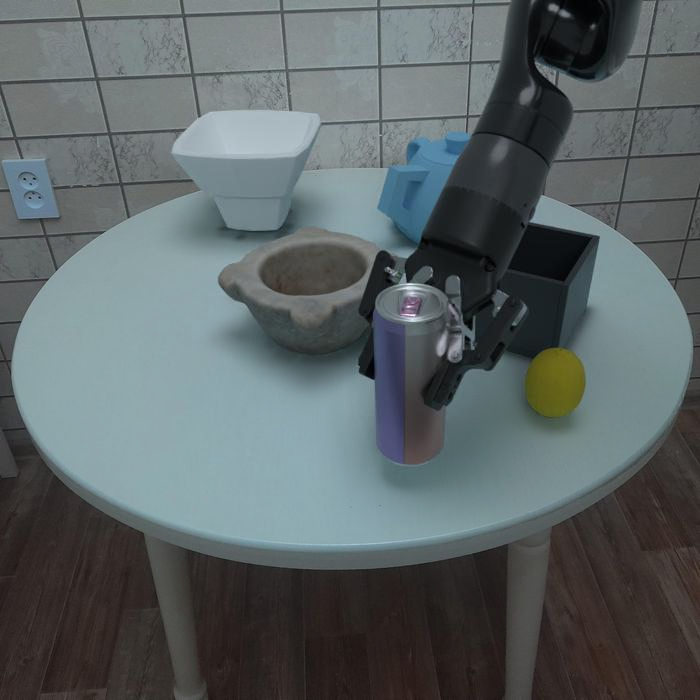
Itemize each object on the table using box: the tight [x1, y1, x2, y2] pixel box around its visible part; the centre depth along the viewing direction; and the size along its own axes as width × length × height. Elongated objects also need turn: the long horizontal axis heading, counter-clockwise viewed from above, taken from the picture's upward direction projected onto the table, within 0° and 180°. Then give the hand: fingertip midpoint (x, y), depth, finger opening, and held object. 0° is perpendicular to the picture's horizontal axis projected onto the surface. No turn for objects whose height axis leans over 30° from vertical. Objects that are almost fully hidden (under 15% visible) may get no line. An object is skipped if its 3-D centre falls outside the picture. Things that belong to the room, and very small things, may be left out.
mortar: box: [217, 226, 404, 355], centre depth 81 cm, size 17×17×9 cm
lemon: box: [524, 348, 587, 419], centre depth 69 cm, size 6×6×8 cm
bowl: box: [170, 109, 322, 232], centre depth 104 cm, size 19×19×14 cm
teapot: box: [376, 131, 472, 245], centre depth 101 cm, size 19×19×14 cm
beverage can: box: [373, 282, 451, 468], centre depth 59 cm, size 6×6×15 cm
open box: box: [474, 221, 601, 359], centre depth 82 cm, size 12×12×10 cm
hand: (398, 391), depth 58 cm, fingers closed on beverage can, 6 cm apart
